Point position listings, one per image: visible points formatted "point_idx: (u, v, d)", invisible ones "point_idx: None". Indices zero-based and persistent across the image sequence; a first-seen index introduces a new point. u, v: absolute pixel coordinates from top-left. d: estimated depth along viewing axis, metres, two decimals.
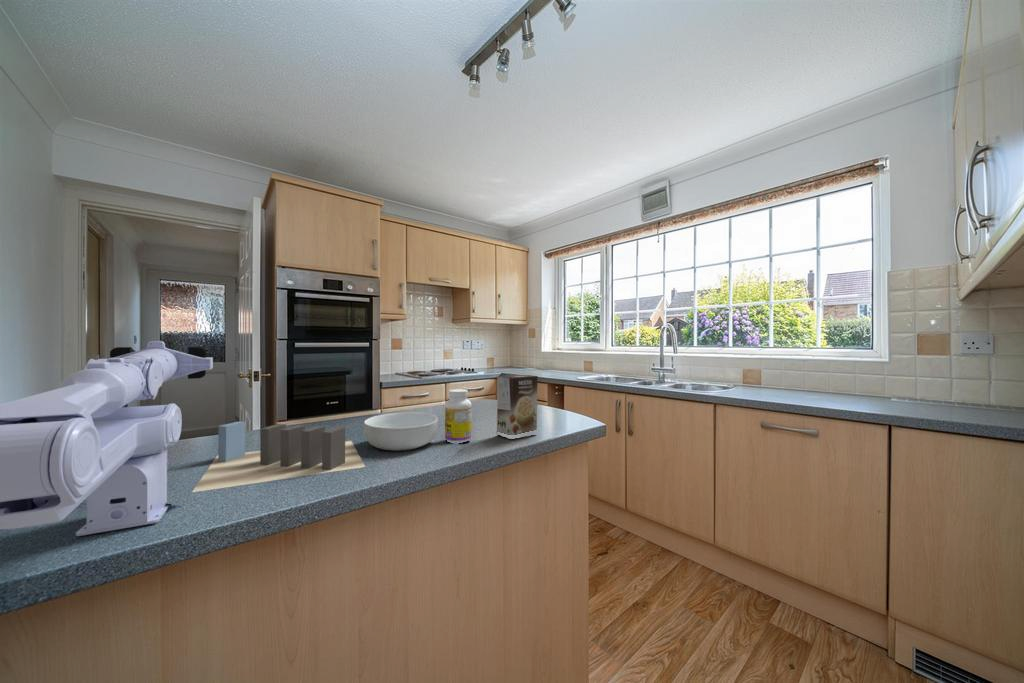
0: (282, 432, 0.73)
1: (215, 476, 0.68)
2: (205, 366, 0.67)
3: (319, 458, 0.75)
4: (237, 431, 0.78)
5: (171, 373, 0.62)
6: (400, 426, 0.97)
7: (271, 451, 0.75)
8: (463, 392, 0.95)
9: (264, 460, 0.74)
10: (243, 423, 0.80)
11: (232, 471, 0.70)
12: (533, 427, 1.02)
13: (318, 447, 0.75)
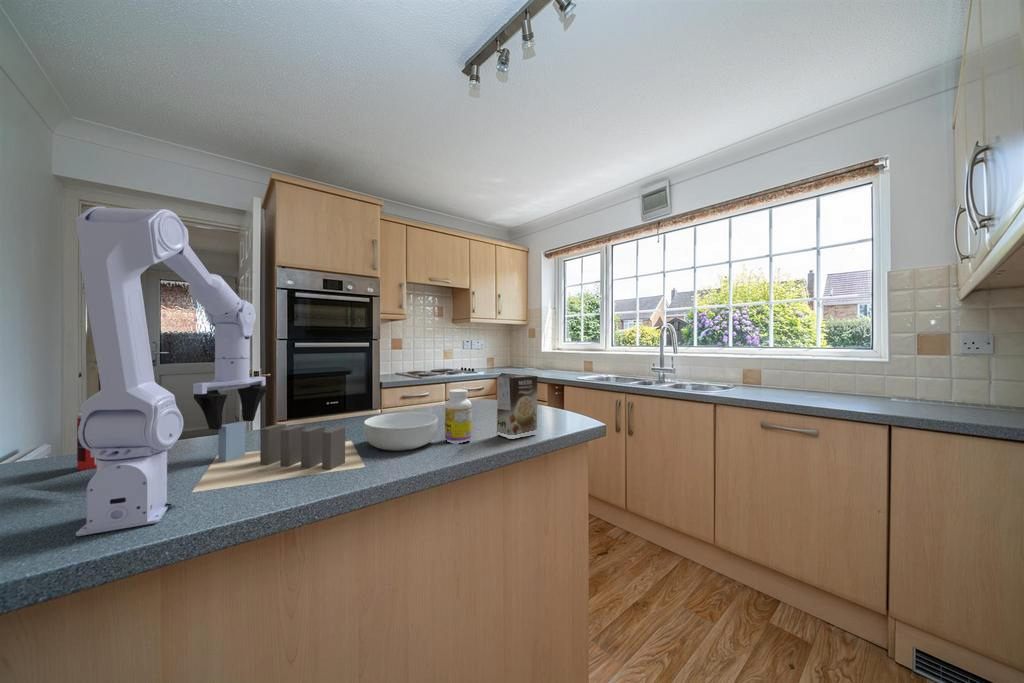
0: (282, 432, 0.73)
1: (215, 476, 0.68)
2: None
3: (319, 458, 0.75)
4: (237, 431, 0.78)
5: None
6: (400, 426, 0.97)
7: (271, 451, 0.75)
8: (463, 392, 0.95)
9: (264, 460, 0.74)
10: (243, 423, 0.80)
11: (232, 471, 0.70)
12: (533, 427, 1.02)
13: (318, 447, 0.75)
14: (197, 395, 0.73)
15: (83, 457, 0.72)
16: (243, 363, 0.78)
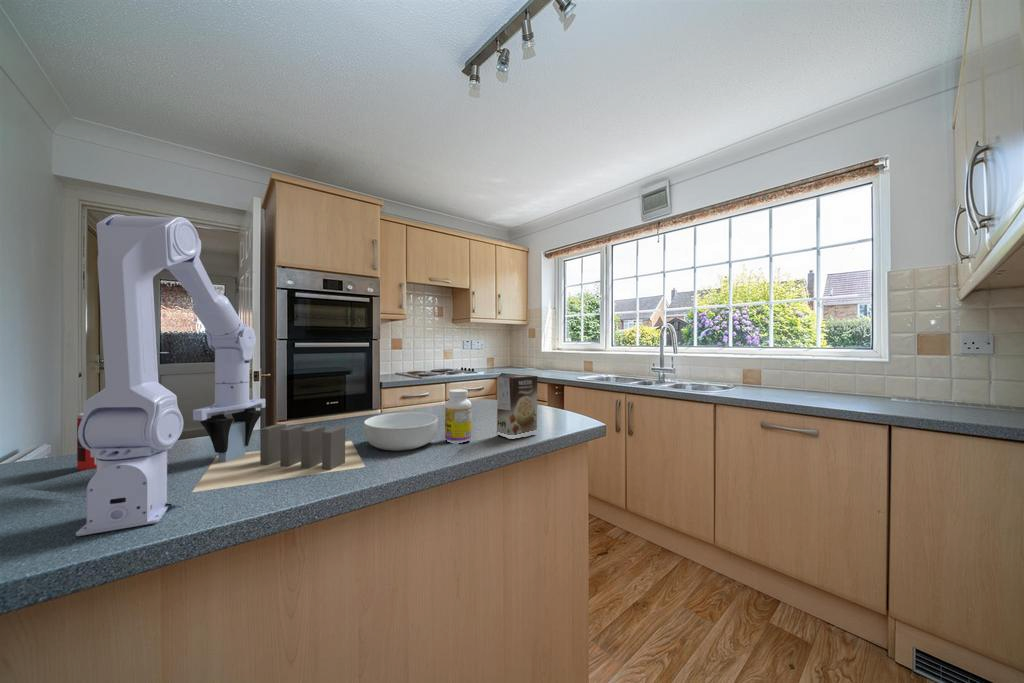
0: (282, 432, 0.73)
1: (215, 476, 0.68)
2: None
3: (319, 458, 0.75)
4: (237, 431, 0.78)
5: None
6: (400, 426, 0.97)
7: (271, 451, 0.75)
8: (463, 392, 0.95)
9: (264, 460, 0.74)
10: (243, 423, 0.80)
11: (232, 471, 0.70)
12: (533, 427, 1.02)
13: (318, 447, 0.75)
14: (204, 419, 0.74)
15: (83, 457, 0.72)
16: (243, 387, 0.78)
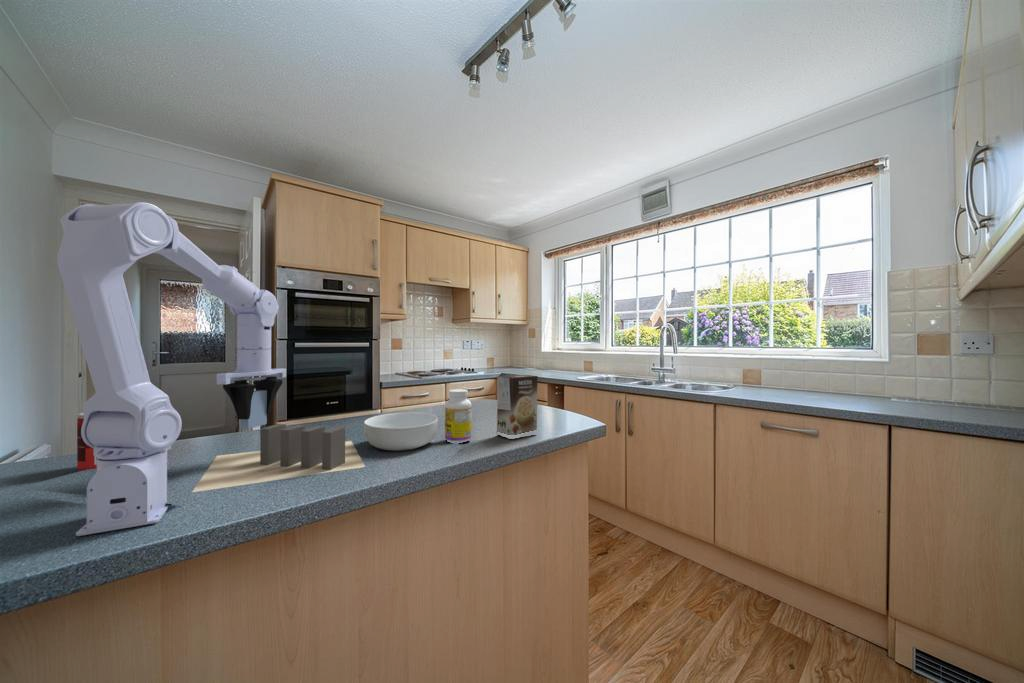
0: (282, 432, 0.73)
1: (215, 476, 0.68)
2: None
3: (319, 458, 0.75)
4: (258, 399, 0.77)
5: None
6: (400, 426, 0.97)
7: (271, 451, 0.75)
8: (463, 392, 0.95)
9: (264, 460, 0.74)
10: (264, 391, 0.79)
11: (232, 471, 0.70)
12: (533, 427, 1.02)
13: (318, 447, 0.75)
14: (227, 385, 0.73)
15: (83, 457, 0.72)
16: (265, 354, 0.76)
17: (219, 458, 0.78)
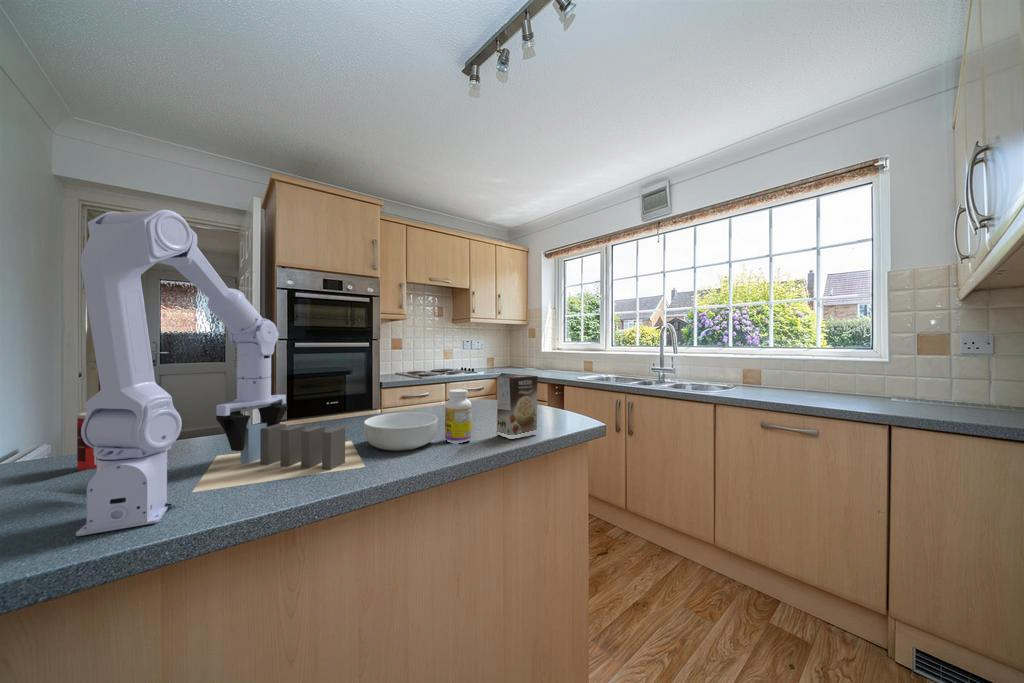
0: (282, 432, 0.73)
1: (215, 476, 0.68)
2: None
3: (319, 458, 0.75)
4: (259, 433, 0.77)
5: None
6: (400, 426, 0.97)
7: (271, 451, 0.75)
8: (463, 392, 0.95)
9: (264, 460, 0.74)
10: (265, 424, 0.79)
11: (232, 471, 0.70)
12: (533, 427, 1.02)
13: (318, 447, 0.75)
14: (220, 416, 0.71)
15: (83, 457, 0.72)
16: (265, 383, 0.77)
17: (219, 458, 0.78)
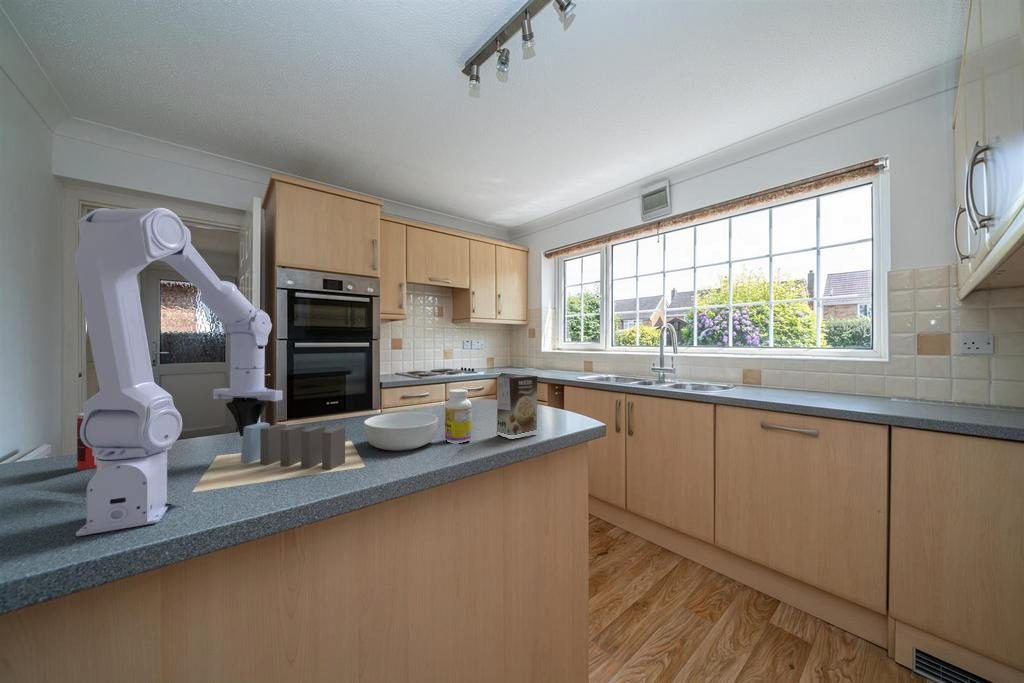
0: (282, 432, 0.73)
1: (215, 476, 0.68)
2: None
3: (319, 458, 0.75)
4: None
5: (255, 374, 0.76)
6: (400, 426, 0.97)
7: (271, 451, 0.75)
8: (463, 392, 0.95)
9: (264, 460, 0.74)
10: (267, 425, 0.79)
11: (232, 471, 0.70)
12: (533, 427, 1.02)
13: (318, 447, 0.75)
14: None
15: (83, 457, 0.72)
16: (234, 374, 0.75)
17: (219, 458, 0.78)
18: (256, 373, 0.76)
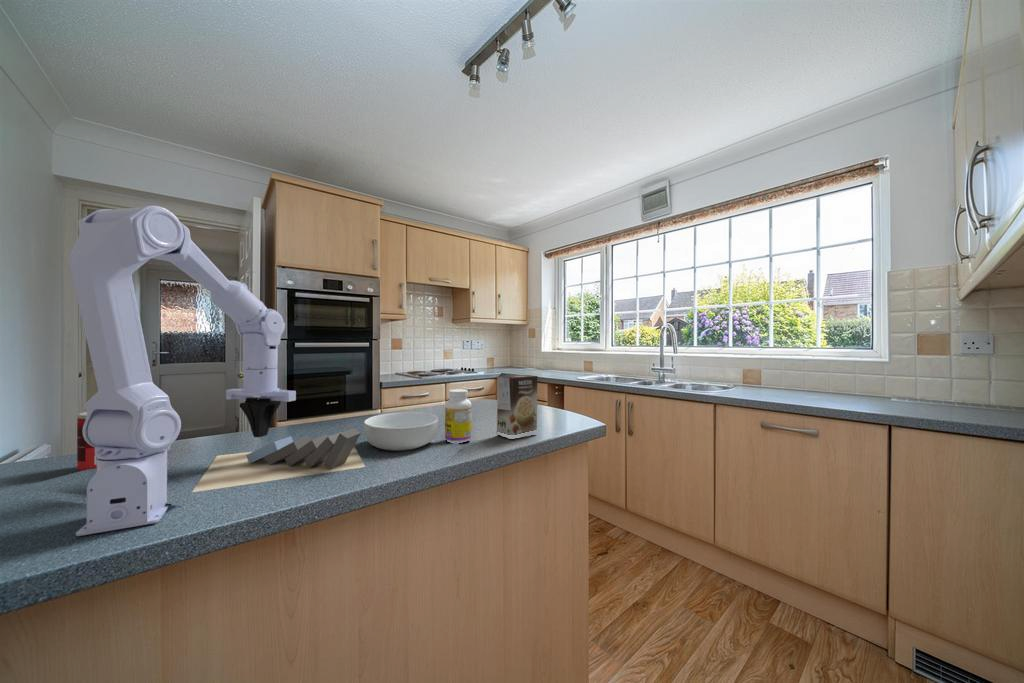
0: (311, 443, 0.72)
1: (215, 476, 0.68)
2: None
3: (323, 460, 0.75)
4: None
5: (268, 374, 0.76)
6: (400, 426, 0.97)
7: (282, 458, 0.74)
8: (463, 392, 0.95)
9: (271, 459, 0.74)
10: None
11: (232, 471, 0.70)
12: (533, 427, 1.02)
13: None
14: None
15: (83, 457, 0.72)
16: (247, 374, 0.74)
17: (219, 458, 0.78)
18: (269, 373, 0.76)
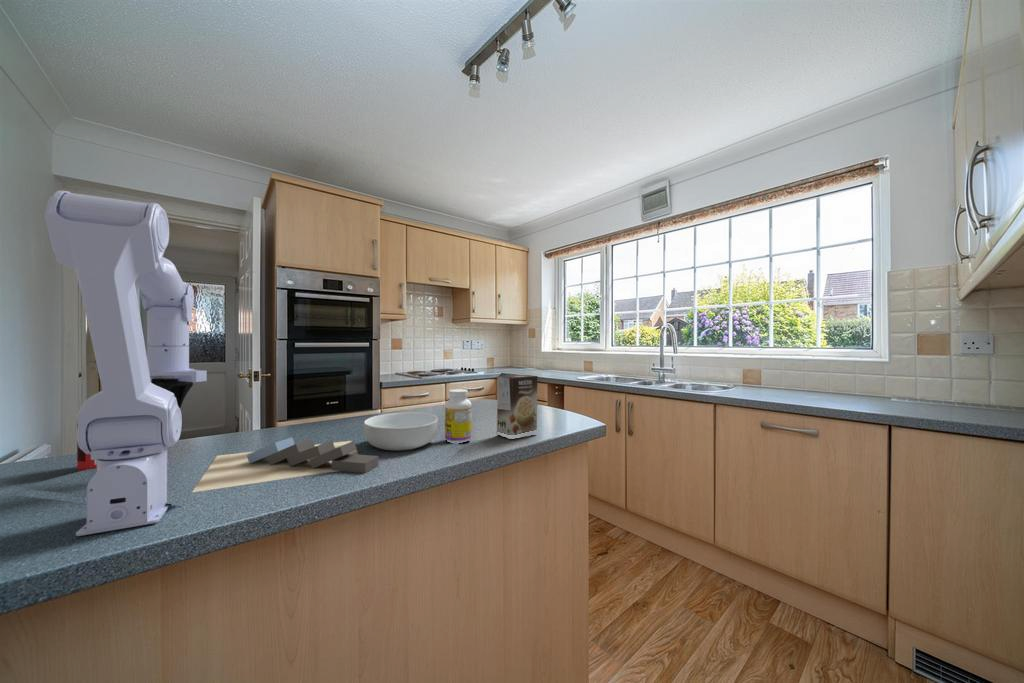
0: (315, 448, 0.72)
1: (215, 476, 0.68)
2: None
3: None
4: None
5: (175, 352, 0.69)
6: (400, 426, 0.97)
7: None
8: (463, 392, 0.95)
9: (272, 459, 0.74)
10: None
11: (232, 471, 0.70)
12: (533, 427, 1.02)
13: None
14: None
15: (83, 457, 0.72)
16: (150, 351, 0.67)
17: (219, 458, 0.78)
18: (176, 351, 0.69)
